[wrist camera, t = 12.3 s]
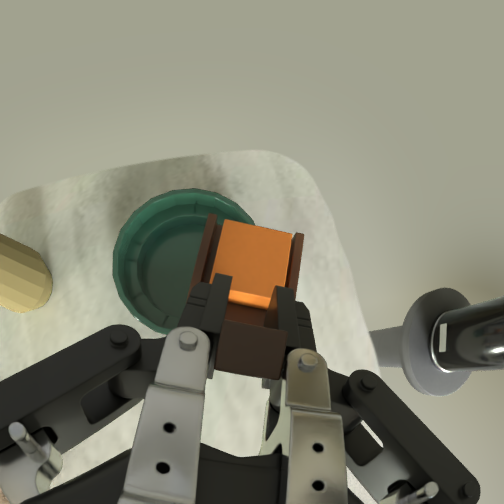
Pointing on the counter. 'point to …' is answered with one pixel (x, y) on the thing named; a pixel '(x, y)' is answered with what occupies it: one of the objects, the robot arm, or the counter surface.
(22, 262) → the squeeze bottle
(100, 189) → the counter surface
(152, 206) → the green pet bowl
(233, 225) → the block
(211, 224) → the scoop
